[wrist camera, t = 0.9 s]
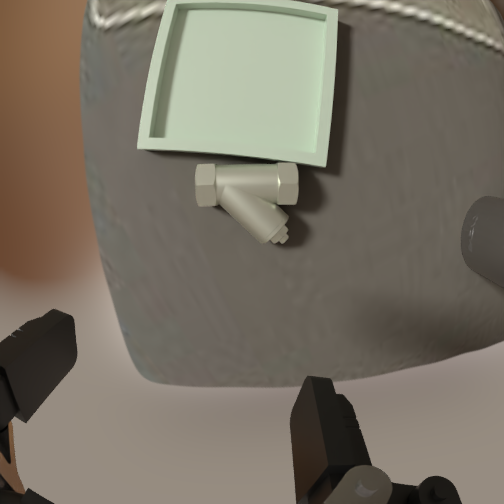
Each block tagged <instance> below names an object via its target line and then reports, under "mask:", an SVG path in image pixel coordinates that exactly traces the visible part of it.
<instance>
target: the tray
mask: <svg viewBox="0 0 504 504" xmlns="http://www.w3.org/2000/svg"><path fill="white" fill-rule="evenodd" d="M337 27H338V10H337V9H333V8H329V7H324V6H319V5H314V4H309V3H303V2H297V1H290V0H167V3H166V6H165V10H164V13H163V17H162V20H161V24H160V28H159V31H158V35H157V39H156V43H155V47H154V52H153V56H152V61H151V65H150V70H149V75H148V80H147V85H146V91H145V96H144V102H143V108H142V115H141V122H140V129H139V136H138V144H137V149H141V150H152V151H176V152H193V153H206V154H219V155H230V156H239V157H249V158H257V159H266V160H273V161H281V162H288V163H296V164H301V165H308V166H314V167H320V168H322V167H326V161H327V153H328V145H329V135H330V126H331V116H332V105H333V94H334V81H335V66H336V49H337Z"/></svg>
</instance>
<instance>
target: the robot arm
mask: <svg viewBox="0 0 504 504" xmlns="http://www.w3.org/2000/svg"><path fill="white" fill-rule="evenodd" d="M461 250H462V255H463V258H464V261H465V263H466V264H467V266H468V267H469V268H470V269H471V270H473V271H475V272H477V273H478V274H480V275H482V276H484V277H486V278H487V279H489V280H491V281H492V282H494V283H496V284H498V285H499V286H501V287H503V288H504V199H502V198H497V197H491V196H485V197H482V198H480V199H478V200H477V201H475V203H474V204H473V205H472V206H471V207H470V209H469V211H468V212H467V214H466V217H465V219H464V223H463V226H462V232H461ZM76 359H77V344H76V335H75V323H74V319H73V317H72V316H71V315H69V314H66V313H63V312H61V311H59V310H56V309H52V310H50V311H49V312H48V313H46V314H45V315H44V316H42V317H39V318H36V319H33V320H31V321H28V322H27V323H25V324H24V325H22V326H21V327H20V328H19V329H18V330H16V331H15V332H13V333H12V334H11V336H10V335H9V336H8V337H7V338H6V339H4V340H3V341H1V342H0V504H54V503H52V502H51V501H49V500H47V499H45V498H44V497H42V496H40V495H39V494H37V493H36V492H34V491H32V490H31V489H29V488H28V489H27V491H26V492H25V489H24V487H23V484H22V482H21V480H20V477H19V475H18V472H17V466H16V459H15V449H14V438H13V426H12V422H11V420H12V419H13V417H14V416H15V417H17V418H18V419H20V420H21V421H23V422H25V423H27V421H28V420H29V419H30V418H31V416H32V415H33V414H34V413H35V412H36V410H37V409H38V408H39V406H40V405H41V404H42V403H43V402H44V401H45V399H46V398H47V397H48V396H49V394H50V393H51V392H52V391H53V390H54V389H55V387H56V386H57V385H58V384H59V383H60V381H61V380H62V379H63V378H64V377H65V376H66V375H67V373H68V372H69V371H70V370H71V369H72V368H73V366H74V364H75V362H76ZM290 430H291V443H292V454H293V467H294V479H295V493H296V504H462V503H461V500H460V498H459V495H458V492H457V490H456V488H455V486H454V485H453V483H452V482H451V481H449V480H448V479H446V478H444V477H441V476H432V477H428V478H426V479H425V480H424V481H423V482H422V483H421V484H419V485H418V486H413V485H404V484H398V483H393V482H391V480H390V478H389V477H388V475H387V474H386V473H385V472H383V471H382V470H381V469H379V468H376V467H374V466H372V464H371V461H370V458H369V454H368V451H367V448H366V445H365V442H364V439H363V436H362V433H361V430H360V429H359V424H358V421H357V419H356V415H355V412H354V409H353V406H352V404H351V403H350V402H349V401H348V400H347V399H346V397H345V396H344V395H343V394H336V392H335V389H334V386H333V382H332V380H331V379H330V378H323V377H315V376H307V377H306V379H305V381H304V383H303V385H302V388H301V390H300V393H299V395H298V397H297V400H296V402H295V404H294V406H293V409H292V412H291V417H290Z"/></svg>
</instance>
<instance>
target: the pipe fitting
mask: <svg viewBox="0 0 504 504" xmlns="http://www.w3.org/2000/svg"><path fill="white" fill-rule="evenodd" d="M298 192H299V177H298V169H297V165H296V163H276V164H232V165H217V164H198V165H197V167H196V173H195V193H196V200H197V204H198V206H217V205H218V204H220V205H221V206H222V207H223V208H224V209H225V210H226V211H227V212H228V213H229V214H230V215H231V216H232V217H233V218H234V219H235V220H237V221H238V222H239V223H240V224H241V225H242V226H243V227H244V228H245V229H246V230H247V231H248V232H249V233H250V234H251V235H252V236H253V237H254V238H255V239H257V240H258V241H259V242H260V243H261V244H265V243H266V242H268V241H269V240H271V241H272V242H273V243H274V244H275V243H277V242H278V241H279V242H280V243H281V244H283V243H284V242H285V241H286V240H287V239H288V238H289V236H288V235H287V234H286V233H287V231H288V228H287V227H286V226H285V224H286V222H287V221H288V218H289V216H288V215H287V214H286V213H285V212H284V211H283V210H282V209H281V208H280V207H279V206H278V205H277V204H279V205H295V204H296V203H297V200H298Z"/></svg>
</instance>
